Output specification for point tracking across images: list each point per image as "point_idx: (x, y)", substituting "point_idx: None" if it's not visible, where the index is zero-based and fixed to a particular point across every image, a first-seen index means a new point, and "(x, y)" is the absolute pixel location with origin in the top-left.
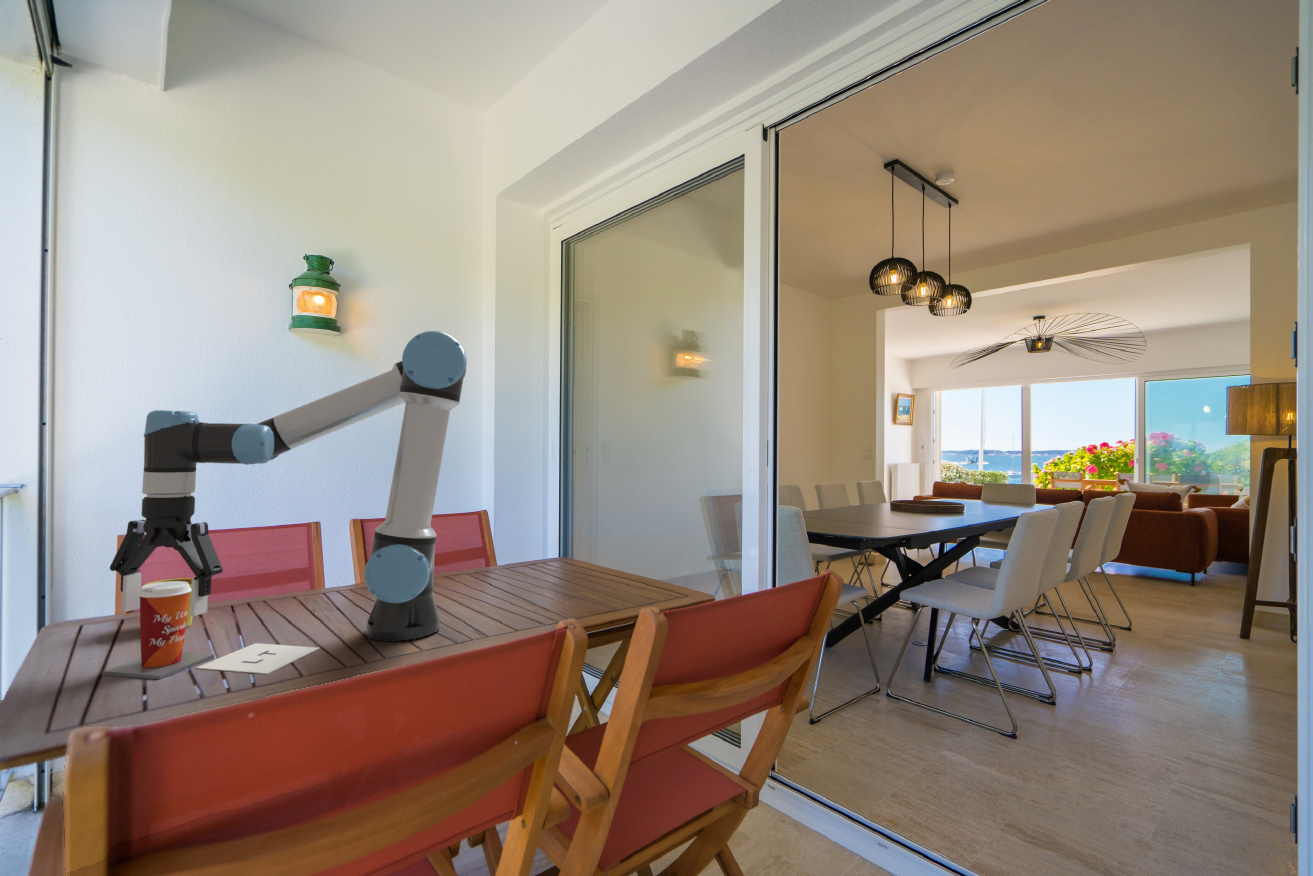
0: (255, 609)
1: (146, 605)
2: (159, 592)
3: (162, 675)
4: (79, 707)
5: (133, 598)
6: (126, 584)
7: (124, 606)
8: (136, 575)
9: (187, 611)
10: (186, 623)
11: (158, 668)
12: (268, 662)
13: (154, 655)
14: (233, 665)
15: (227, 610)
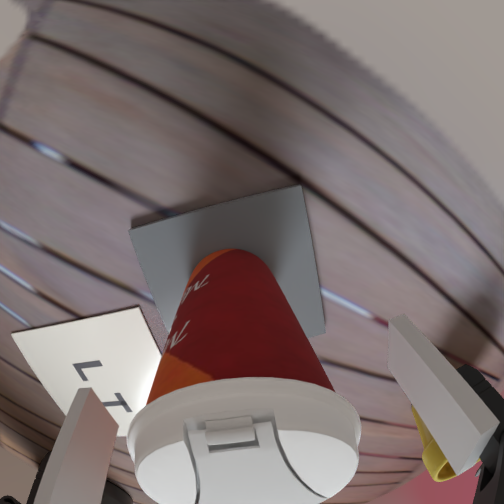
0: (380, 474)
1: (215, 355)
2: (153, 434)
3: (130, 236)
4: (111, 52)
5: (411, 376)
6: (456, 400)
7: (406, 330)
8: (460, 458)
9: (420, 428)
10: (413, 411)
11: (190, 260)
12: (62, 372)
13: (198, 269)
14: (90, 343)
15: (415, 453)
